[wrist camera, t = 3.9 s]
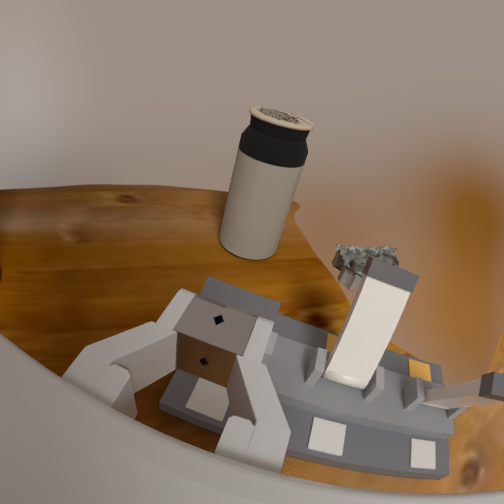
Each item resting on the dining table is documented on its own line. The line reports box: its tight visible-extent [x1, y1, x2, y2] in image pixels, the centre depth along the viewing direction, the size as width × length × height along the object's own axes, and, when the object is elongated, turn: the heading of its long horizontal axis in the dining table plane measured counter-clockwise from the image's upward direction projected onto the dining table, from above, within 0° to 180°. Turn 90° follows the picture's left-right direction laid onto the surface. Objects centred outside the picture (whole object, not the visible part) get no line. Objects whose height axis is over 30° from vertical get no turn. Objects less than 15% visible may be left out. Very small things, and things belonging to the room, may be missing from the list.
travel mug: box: [219, 107, 314, 260], centre depth 39 cm, size 8×8×18 cm
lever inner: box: [200, 276, 281, 321], centre depth 22 cm, size 2×4×11 cm, turn 74°
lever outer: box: [420, 372, 504, 409], centre depth 20 cm, size 2×4×11 cm, turn 74°
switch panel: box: [159, 313, 467, 480], centre depth 26 cm, size 14×27×5 cm, turn 74°
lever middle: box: [322, 256, 419, 390], centre depth 24 cm, size 2×4×11 cm, turn 74°
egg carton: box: [332, 245, 399, 291], centre depth 43 cm, size 11×8×4 cm
